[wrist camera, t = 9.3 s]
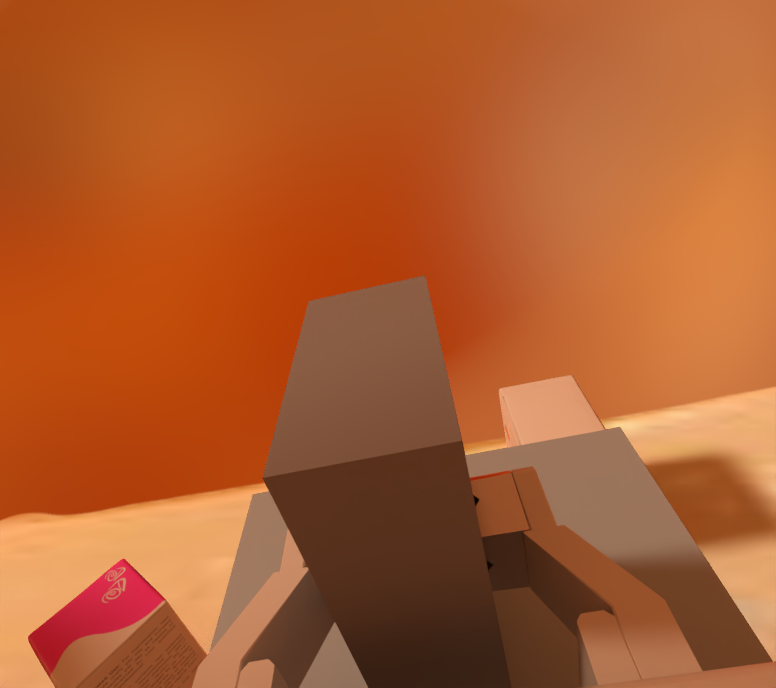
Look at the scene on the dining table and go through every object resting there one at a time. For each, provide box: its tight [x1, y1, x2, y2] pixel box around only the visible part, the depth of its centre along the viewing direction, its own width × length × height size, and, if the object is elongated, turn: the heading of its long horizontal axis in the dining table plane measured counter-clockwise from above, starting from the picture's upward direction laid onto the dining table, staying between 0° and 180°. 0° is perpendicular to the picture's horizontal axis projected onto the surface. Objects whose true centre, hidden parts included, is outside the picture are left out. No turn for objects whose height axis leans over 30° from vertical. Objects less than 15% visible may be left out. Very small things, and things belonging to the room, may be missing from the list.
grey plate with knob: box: [210, 276, 773, 688], centre depth 11 cm, size 15×15×11 cm
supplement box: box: [28, 559, 207, 688], centre depth 29 cm, size 6×6×12 cm
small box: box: [499, 375, 606, 448], centre depth 36 cm, size 8×6×10 cm
